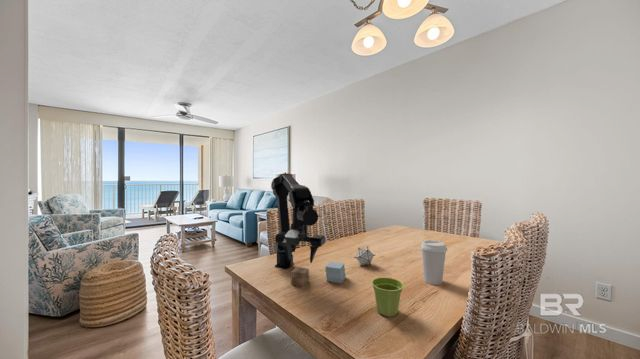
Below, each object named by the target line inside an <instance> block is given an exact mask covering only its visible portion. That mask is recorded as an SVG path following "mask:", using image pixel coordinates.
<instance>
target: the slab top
mask: <svg viewBox="0 0 640 359" xmlns="http://www.w3.org/2000/svg"><path fill="white" fill-rule="evenodd" d="M324 268H325V271H324V272H325V273H326V272H330V273H338V274H341V272H342V271H343V270H344V268H345V263H344V262H334V261H329V262H328V263H327V265H325V267H324Z"/></svg>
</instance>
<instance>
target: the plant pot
mask: <svg viewBox="0 0 640 359" xmlns="http://www.w3.org/2000/svg"><path fill="white" fill-rule="evenodd" d="M371 286H372V288H373V290H374V297H375V306H376V310H377V313H378V314H380V315H383V316H384V317H394V316H396V315H397V314H398V312H399V305H400V299H401V293H402V292H403V289H404V283H403V282H402V281H401V280H399V279H396V278H392V277H386V276H385V277H383V276H381V277H380V276H379V277H376V278H373V279H372V280H371Z"/></svg>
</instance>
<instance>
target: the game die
mask: <svg viewBox="0 0 640 359" xmlns="http://www.w3.org/2000/svg"><path fill="white" fill-rule="evenodd" d="M357 249H358V250H357V252H356V256H354V257H353V258H354V259H356V260H357V261H358V262H359V264H360V267H362V266H364V265H370V266H372V260H373V259H374V257H375V256H376V254H374V253H373V252H372V251H371V250H370V249H369V246H366V247H363V248H360V247H357Z"/></svg>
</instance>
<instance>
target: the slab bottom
mask: <svg viewBox="0 0 640 359" xmlns="http://www.w3.org/2000/svg"><path fill="white" fill-rule="evenodd" d="M345 279H346V273H345V274H344V275H343V277H342V278H341V279H338V278H332V277H326V282H329V281H330V282H331V283H338V284H342V283H343V282H344V281H345Z"/></svg>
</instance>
